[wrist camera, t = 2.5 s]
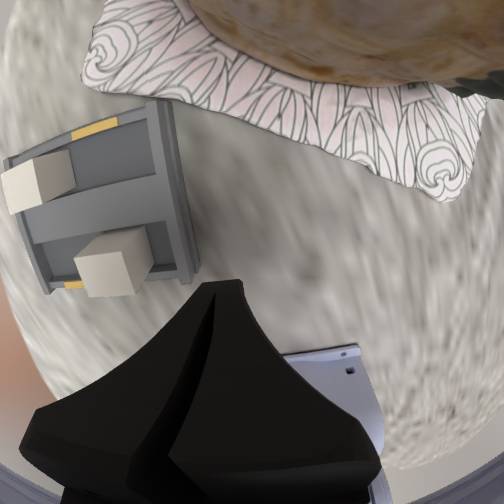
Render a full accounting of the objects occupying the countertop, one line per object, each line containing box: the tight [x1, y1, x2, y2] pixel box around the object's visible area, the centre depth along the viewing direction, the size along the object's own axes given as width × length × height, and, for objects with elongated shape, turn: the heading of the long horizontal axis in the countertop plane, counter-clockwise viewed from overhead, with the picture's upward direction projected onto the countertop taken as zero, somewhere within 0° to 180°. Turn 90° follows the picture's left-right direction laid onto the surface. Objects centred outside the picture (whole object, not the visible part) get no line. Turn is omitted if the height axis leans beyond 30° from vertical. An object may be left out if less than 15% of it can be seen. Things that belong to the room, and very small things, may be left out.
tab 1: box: [0, 149, 76, 215], centre depth 12 cm, size 3×2×4 cm
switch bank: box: [3, 100, 200, 295], centre depth 15 cm, size 12×10×2 cm
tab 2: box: [74, 225, 155, 298], centre depth 14 cm, size 3×2×4 cm
